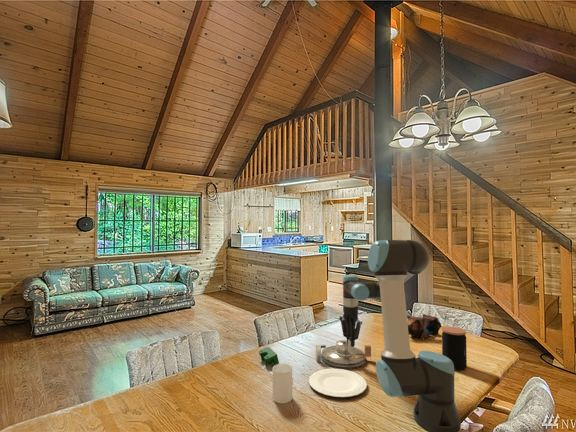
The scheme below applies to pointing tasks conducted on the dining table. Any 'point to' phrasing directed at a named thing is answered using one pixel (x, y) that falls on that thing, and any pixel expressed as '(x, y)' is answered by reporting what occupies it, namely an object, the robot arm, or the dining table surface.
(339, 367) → the turntable base
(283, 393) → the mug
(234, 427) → the dining table surface
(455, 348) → the coffee jar
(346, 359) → the turntable
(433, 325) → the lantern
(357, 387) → the plate
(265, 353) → the clamp
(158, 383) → the dining table surface
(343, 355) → the cover
